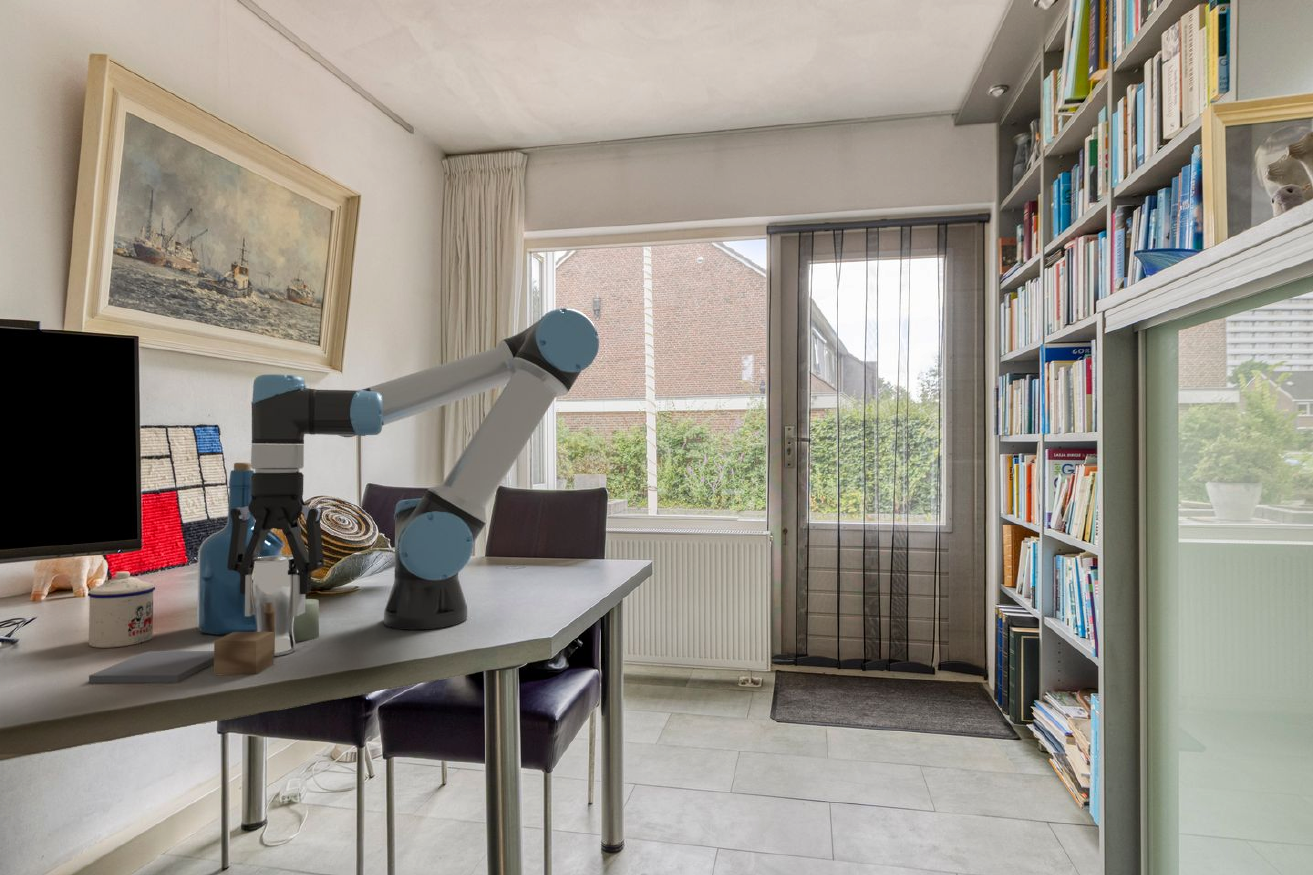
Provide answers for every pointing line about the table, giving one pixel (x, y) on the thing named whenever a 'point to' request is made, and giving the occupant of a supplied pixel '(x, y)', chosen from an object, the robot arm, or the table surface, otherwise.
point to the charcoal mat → (155, 667)
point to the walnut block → (243, 653)
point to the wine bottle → (215, 581)
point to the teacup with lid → (121, 612)
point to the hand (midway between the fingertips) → (275, 614)
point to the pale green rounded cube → (307, 622)
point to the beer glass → (274, 599)
